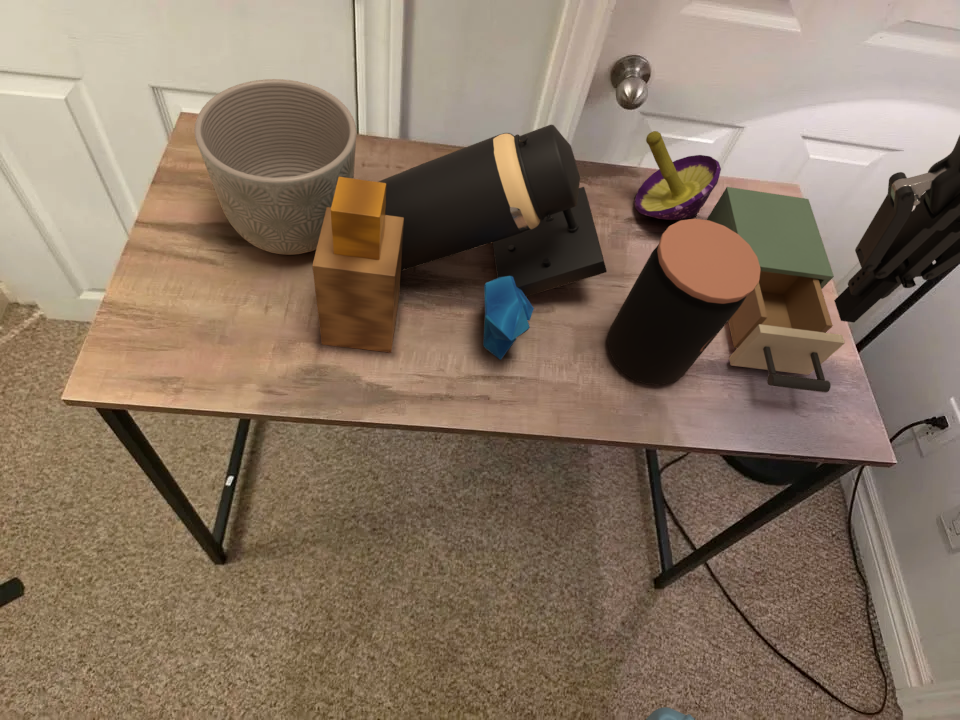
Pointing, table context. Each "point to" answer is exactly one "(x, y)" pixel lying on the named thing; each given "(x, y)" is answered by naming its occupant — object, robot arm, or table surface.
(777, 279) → the drawer
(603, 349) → the table surface
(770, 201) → the cabinet
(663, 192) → the decorative mushroom
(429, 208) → the light fixture
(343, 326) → the stand
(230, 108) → the planter
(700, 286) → the coffee jar
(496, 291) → the crystal
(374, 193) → the block
